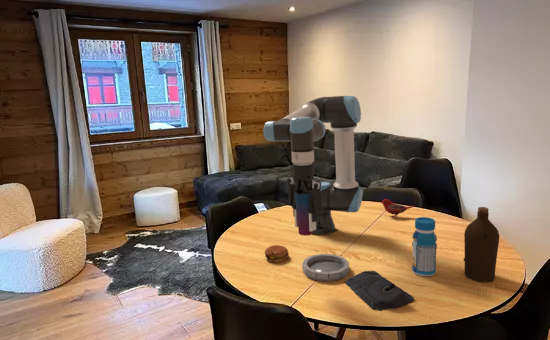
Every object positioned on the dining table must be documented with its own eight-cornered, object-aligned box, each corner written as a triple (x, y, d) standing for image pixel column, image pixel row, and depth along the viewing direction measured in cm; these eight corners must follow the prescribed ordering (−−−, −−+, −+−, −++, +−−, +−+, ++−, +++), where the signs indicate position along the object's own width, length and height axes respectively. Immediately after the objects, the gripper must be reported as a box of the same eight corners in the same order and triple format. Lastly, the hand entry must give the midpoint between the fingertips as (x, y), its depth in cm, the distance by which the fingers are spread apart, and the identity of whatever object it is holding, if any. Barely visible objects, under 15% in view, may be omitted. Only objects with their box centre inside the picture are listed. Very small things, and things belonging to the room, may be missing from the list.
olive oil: (503, 280, 129) (509, 210, 124) (478, 285, 127) (482, 214, 122) (480, 267, 139) (484, 202, 135) (455, 272, 137) (458, 205, 132)
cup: (295, 230, 135) (293, 189, 132) (313, 228, 136) (312, 188, 133) (297, 237, 129) (295, 195, 126) (317, 235, 129) (315, 193, 126)
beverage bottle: (424, 279, 132) (426, 225, 129) (406, 270, 140) (407, 218, 136) (441, 273, 136) (443, 220, 132) (422, 264, 144) (424, 214, 140)
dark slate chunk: (378, 274, 139) (378, 262, 138) (418, 304, 118) (418, 290, 117) (341, 282, 134) (341, 270, 133) (376, 315, 113) (376, 300, 113)
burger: (285, 252, 162) (285, 242, 161) (290, 261, 153) (290, 250, 152) (263, 255, 160) (262, 244, 159) (266, 264, 151) (266, 253, 150)
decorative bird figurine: (380, 216, 202) (380, 198, 201) (414, 216, 200) (415, 198, 198) (381, 218, 200) (381, 199, 198) (415, 218, 197) (416, 199, 195)
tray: (294, 272, 143) (293, 264, 142) (321, 257, 154) (321, 250, 154) (330, 286, 131) (330, 278, 130) (357, 269, 142) (357, 261, 142)
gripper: (275, 162, 131) (278, 225, 136) (317, 168, 118) (319, 237, 122) (290, 158, 136) (292, 219, 141) (332, 164, 123) (333, 231, 127)
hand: (305, 227), depth 132 cm, fingers closed on cup, 6 cm apart
